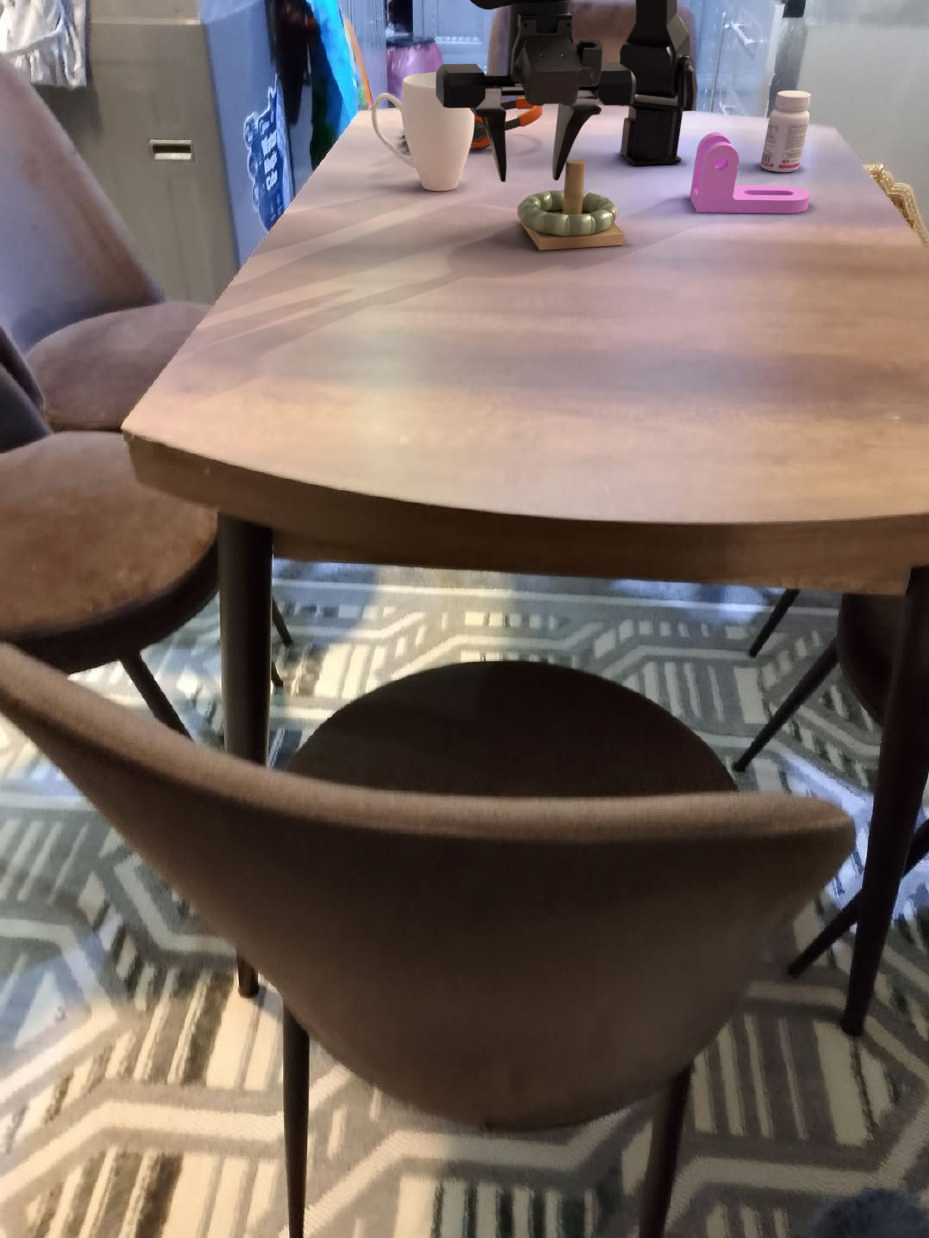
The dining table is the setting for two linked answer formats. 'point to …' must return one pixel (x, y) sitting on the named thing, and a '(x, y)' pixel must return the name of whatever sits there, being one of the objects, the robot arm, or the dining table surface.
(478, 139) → the headphones
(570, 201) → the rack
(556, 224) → the ring
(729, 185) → the bracket
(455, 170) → the mug
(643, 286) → the dining table surface
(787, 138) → the pill bottle
